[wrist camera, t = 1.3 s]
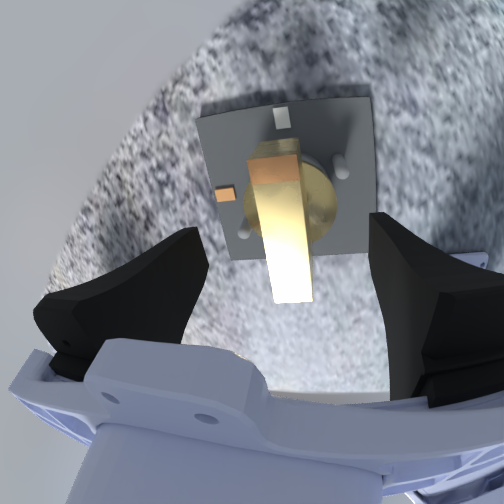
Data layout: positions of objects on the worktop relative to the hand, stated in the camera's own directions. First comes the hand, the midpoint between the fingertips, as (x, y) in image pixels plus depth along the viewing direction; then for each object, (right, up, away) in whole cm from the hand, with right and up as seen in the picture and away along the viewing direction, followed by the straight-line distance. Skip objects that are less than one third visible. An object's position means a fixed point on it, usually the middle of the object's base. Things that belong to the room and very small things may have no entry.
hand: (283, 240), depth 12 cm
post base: (+1, +4, +6) cm, 7 cm away
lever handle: (+1, +2, +3) cm, 4 cm away
